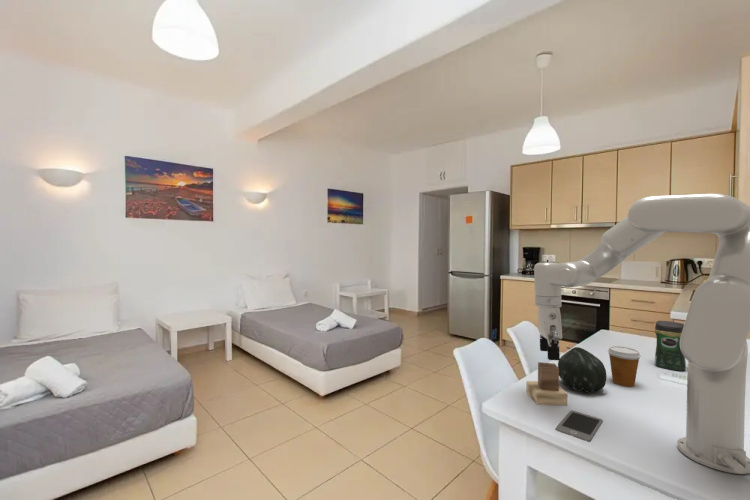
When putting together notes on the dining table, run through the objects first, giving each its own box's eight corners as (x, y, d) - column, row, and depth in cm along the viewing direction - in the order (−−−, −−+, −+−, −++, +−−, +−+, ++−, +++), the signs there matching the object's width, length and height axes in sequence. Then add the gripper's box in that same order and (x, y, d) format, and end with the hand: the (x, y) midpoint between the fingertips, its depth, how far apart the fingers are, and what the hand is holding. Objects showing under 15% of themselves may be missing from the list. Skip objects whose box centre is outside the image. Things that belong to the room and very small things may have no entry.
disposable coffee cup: (646, 389, 117) (646, 354, 116) (614, 387, 119) (615, 352, 118) (631, 379, 126) (631, 346, 126) (602, 377, 128) (602, 345, 128)
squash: (606, 367, 123) (575, 334, 125) (624, 385, 108) (589, 347, 110) (572, 389, 126) (543, 357, 128) (585, 410, 112) (552, 373, 114)
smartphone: (570, 411, 102) (570, 409, 102) (603, 421, 96) (603, 419, 96) (554, 431, 91) (554, 428, 91) (589, 443, 85) (589, 440, 85)
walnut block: (558, 391, 107) (559, 368, 106) (541, 389, 108) (541, 367, 108) (554, 385, 111) (554, 363, 111) (537, 383, 113) (538, 362, 113)
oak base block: (567, 406, 105) (567, 393, 105) (537, 405, 106) (537, 392, 106) (554, 394, 114) (554, 382, 114) (526, 392, 115) (526, 381, 114)
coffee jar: (686, 367, 138) (687, 322, 138) (685, 373, 132) (686, 325, 132) (655, 362, 145) (656, 318, 145) (653, 366, 139) (653, 321, 139)
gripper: (569, 305, 100) (571, 364, 100) (553, 298, 117) (554, 348, 116) (541, 305, 102) (543, 363, 101) (529, 297, 118) (530, 347, 118)
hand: (549, 355), depth 109 cm, fingers open, 9 cm apart
